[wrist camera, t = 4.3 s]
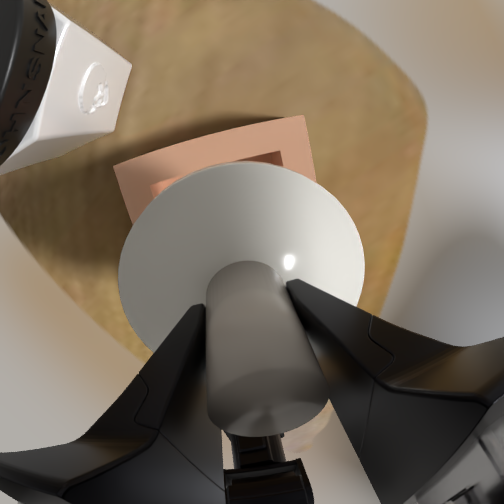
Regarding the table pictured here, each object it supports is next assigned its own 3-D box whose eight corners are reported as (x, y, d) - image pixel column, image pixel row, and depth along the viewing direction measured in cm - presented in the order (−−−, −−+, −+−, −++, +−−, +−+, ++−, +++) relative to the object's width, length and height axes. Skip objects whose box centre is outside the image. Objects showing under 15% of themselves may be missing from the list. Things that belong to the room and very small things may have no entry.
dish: (310, 255, 21) (329, 282, 18) (179, 289, 21) (173, 322, 17) (284, 117, 17) (303, 114, 13) (132, 157, 17) (113, 166, 13)
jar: (111, 164, 17) (-8, 224, 6) (19, 150, 15) (-103, 193, 4) (147, 36, 13) (72, -59, 3) (48, 34, 12) (-62, -5, 1)
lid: (356, 335, 12) (410, 425, 7) (175, 382, 12) (171, 485, 7) (341, 137, 8) (461, 162, 4) (88, 205, 8) (-7, 286, 4)
